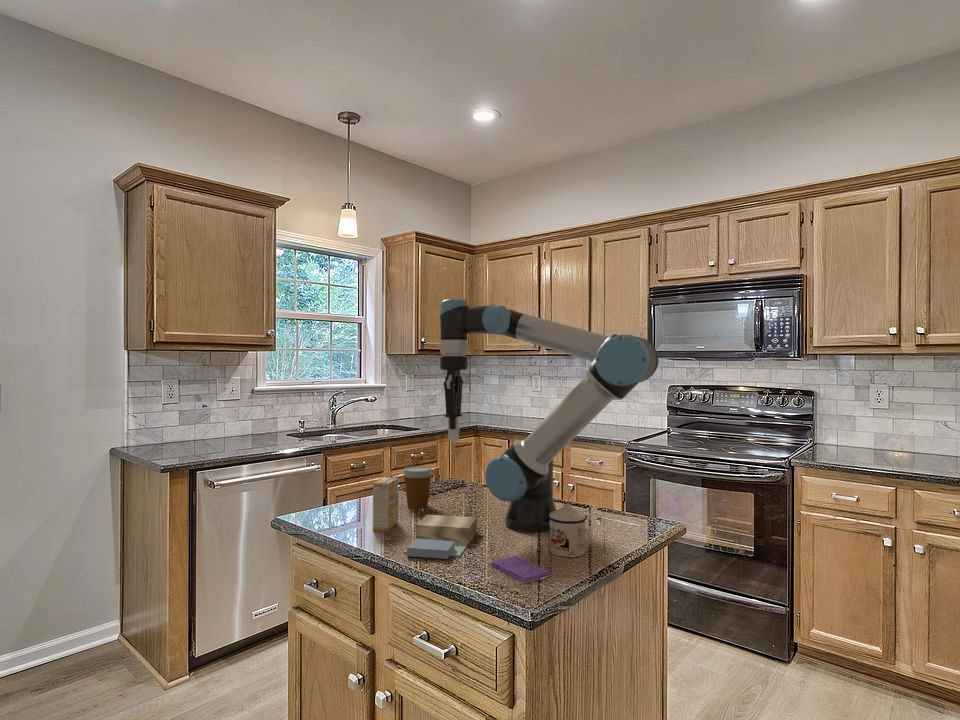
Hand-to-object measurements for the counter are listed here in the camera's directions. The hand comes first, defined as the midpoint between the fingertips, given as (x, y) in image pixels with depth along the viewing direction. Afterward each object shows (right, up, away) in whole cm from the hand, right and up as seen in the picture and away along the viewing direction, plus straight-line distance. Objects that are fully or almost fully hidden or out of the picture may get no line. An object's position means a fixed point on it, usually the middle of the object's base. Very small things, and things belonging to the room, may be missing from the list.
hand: (453, 440), depth 160 cm
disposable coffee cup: (-13, -25, +24) cm, 37 cm away
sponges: (+16, -25, -32) cm, 44 cm away
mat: (-3, -24, -17) cm, 30 cm away
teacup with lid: (+30, -25, -20) cm, 43 cm away
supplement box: (-19, -25, +2) cm, 31 cm away
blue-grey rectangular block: (-4, -22, -21) cm, 31 cm away
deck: (-1, -24, -7) cm, 25 cm away
